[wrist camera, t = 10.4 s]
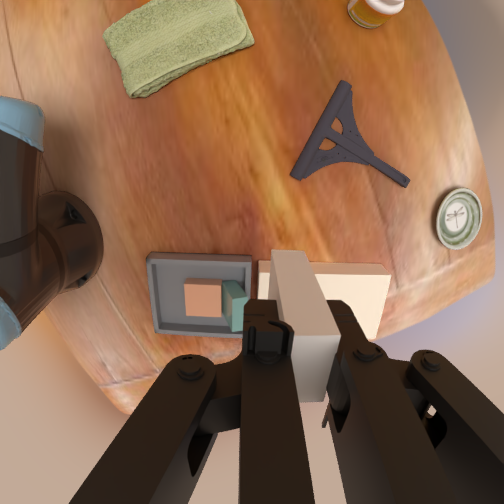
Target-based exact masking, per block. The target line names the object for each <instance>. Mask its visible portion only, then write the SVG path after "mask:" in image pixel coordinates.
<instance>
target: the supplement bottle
mask: <svg viewBox="0 0 504 504" xmlns="http://www.w3.org/2000/svg"><path fill="white" fill-rule="evenodd" d="M403 6H404V0H350V1H349V3H348V13H349V15H350V17H351V18H352V19H353V20H354V21H355V22H356V23H357V24H359V25H360V26H363V27H365V28H377V27H379V26H380V25H382V24H383V23H384V22H386V21H387V20H388V19H390V18H391V17H392V16H394V15H395V14H397V13H398V12H399V11H400V10H401V9H402V8H403Z"/></svg>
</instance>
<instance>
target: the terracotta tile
mask: <svg viewBox="0 0 504 504" xmlns="http://www.w3.org/2000/svg"><path fill="white" fill-rule="evenodd" d="M184 291H185V306H186V316H204V317H221V316H222V279H207V278H186V281H185V283H184Z"/></svg>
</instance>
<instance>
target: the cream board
mask: <svg viewBox="0 0 504 504" xmlns="http://www.w3.org/2000/svg"><path fill="white" fill-rule="evenodd" d="M309 263H310V265H311V267H312V270H313V272H314V274H315V276H316V278H317V281H318V283H319V285H320V288H321V290H322V292H323V294H324V297H325V299H326V300H342V301H343V302H345V303H346V304H347V305H349V306H350V307H351V309H352V311H353V313H354V316H355V317H356V319H357V322H359V324H360V326H361V328H362V330H363V332H364V334H365V336H366V338H367V339H375V337H376V334H377V330H378V327H379V323H380V319H381V316H382V312H383V308H384V304H385V300H386V296H387V292H388V288H389V283H390V279H391V274H390V273H389V272H388V271H387V270H386V269H385V268H384V267H383V266H382V265H381V264H370V263H332V262H309ZM270 264H271V261H265V260H259V262H258V282H257V299H268V290H269V277H270Z"/></svg>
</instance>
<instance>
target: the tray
mask: <svg viewBox="0 0 504 504" xmlns="http://www.w3.org/2000/svg"><path fill="white" fill-rule="evenodd" d="M251 264H252V258H251V255H229V254H199V253H170V252H151V253H150V254H149V255H148V256H147V258H146V265H147V275H148V284H149V293H150V301H151V309H152V317H153V324H154V331H155V333H162V334H174V335H188V336H205V337H225V338H242V337H243V330H242V331H236V332H232V331H231V329H230V327H229V325H228V323H227V321H226V319H225V317H224V315H223V313H222V316H221V317H204V316H186V306H185V291H184V283H185V281H186V278H207V279H222V282H224V281H232V280H236V281H237V282H238V284H239V285H240V287H241V288H242V289H243V291H244V292H245V294H246V295H247V296H248V300H249V299H250V288H251Z"/></svg>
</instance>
